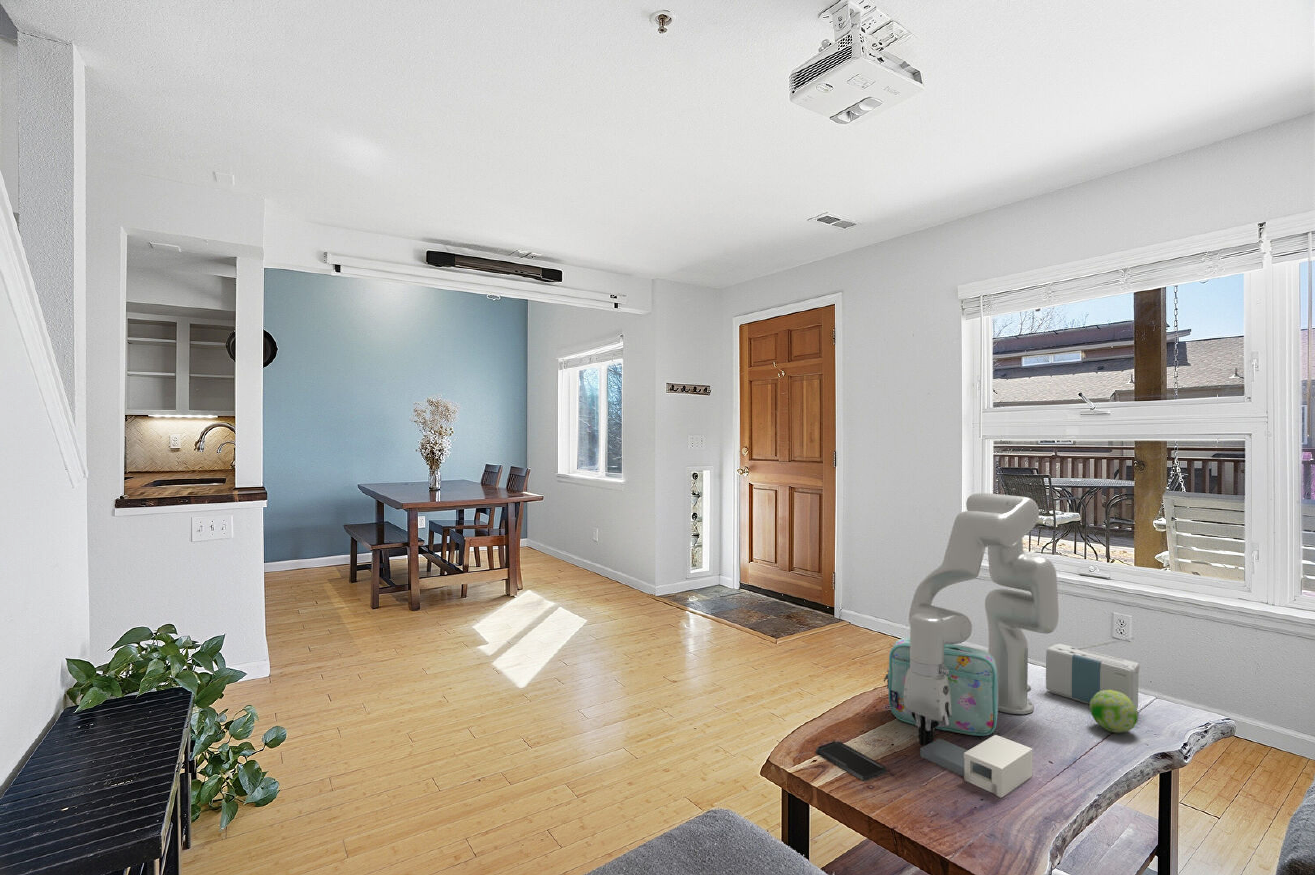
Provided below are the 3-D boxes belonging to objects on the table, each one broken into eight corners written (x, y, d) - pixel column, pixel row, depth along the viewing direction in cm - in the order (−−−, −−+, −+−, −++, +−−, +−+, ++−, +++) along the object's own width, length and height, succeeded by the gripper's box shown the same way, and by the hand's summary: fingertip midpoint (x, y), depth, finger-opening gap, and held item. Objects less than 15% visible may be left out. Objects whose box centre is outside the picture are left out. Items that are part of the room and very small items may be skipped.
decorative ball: (1140, 730, 162) (1141, 691, 162) (1133, 744, 155) (1133, 703, 155) (1094, 718, 169) (1094, 680, 169) (1085, 730, 162) (1085, 691, 162)
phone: (837, 740, 155) (889, 768, 142) (837, 745, 155) (888, 773, 142) (813, 748, 151) (864, 778, 138) (813, 753, 151) (864, 783, 138)
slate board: (939, 748, 154) (939, 738, 154) (1008, 778, 140) (1008, 767, 140) (920, 758, 149) (920, 748, 149) (989, 790, 136) (989, 779, 136)
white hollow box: (995, 760, 147) (995, 734, 147) (1032, 776, 141) (1032, 748, 140) (963, 780, 139) (963, 753, 139) (1001, 798, 132) (1002, 769, 132)
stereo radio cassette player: (1044, 693, 185) (1045, 624, 185) (1056, 686, 190) (1057, 619, 189) (1130, 720, 168) (1131, 644, 168) (1141, 712, 173) (1142, 638, 173)
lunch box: (881, 721, 167) (882, 638, 167) (887, 706, 176) (888, 628, 176) (997, 745, 154) (998, 656, 154) (997, 727, 164) (998, 643, 163)
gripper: (965, 673, 149) (964, 752, 149) (907, 655, 161) (906, 728, 161) (948, 681, 144) (947, 762, 145) (889, 661, 156) (888, 736, 157)
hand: (925, 743), depth 153 cm, fingers closed
